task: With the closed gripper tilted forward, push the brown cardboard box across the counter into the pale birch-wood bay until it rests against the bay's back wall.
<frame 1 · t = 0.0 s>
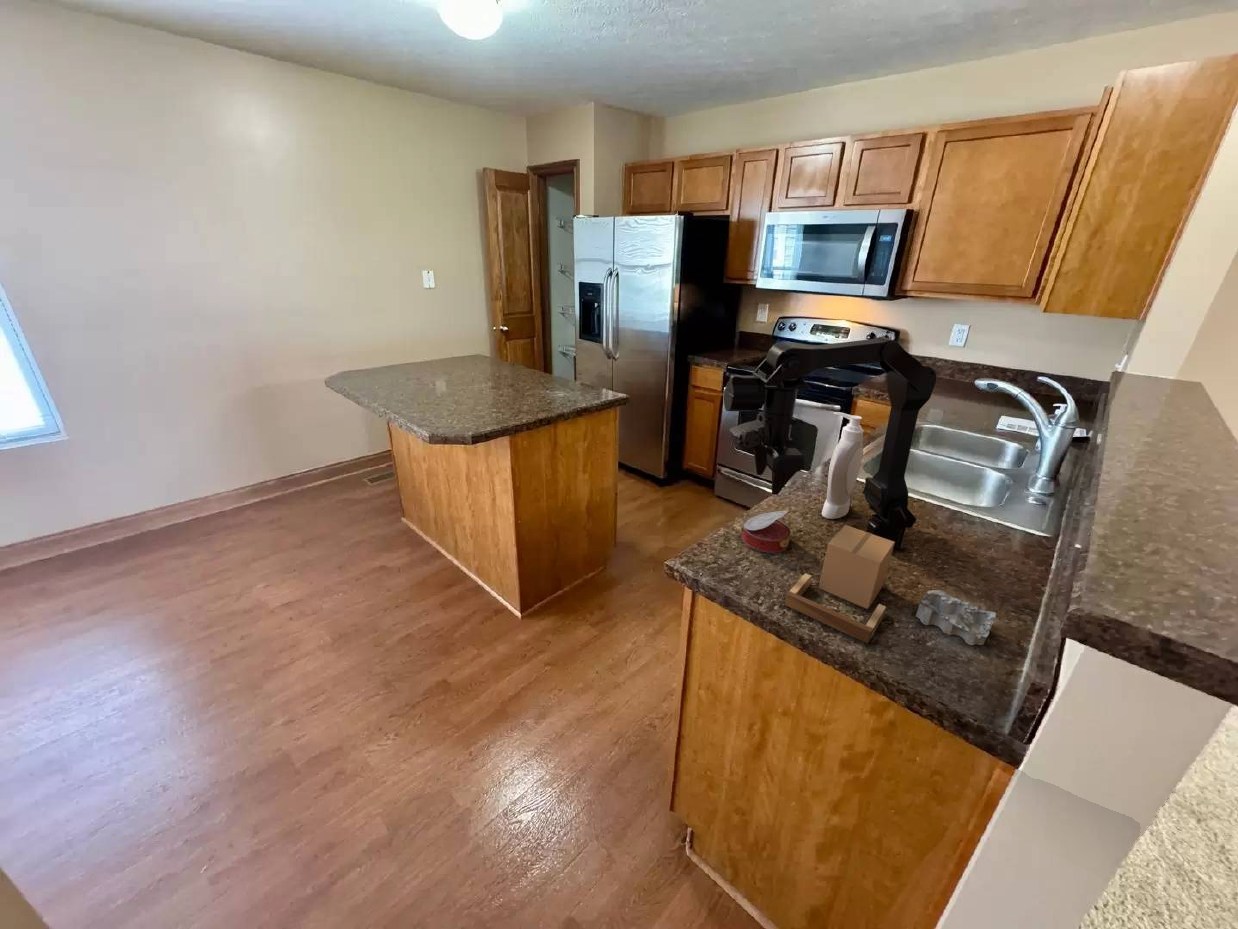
hand: (766, 484, 104), 15 cm above the counter, tool pointing down, fingers open, 9 cm apart
canned food: (764, 540, 112), on the counter
bay: (834, 609, 91), on the counter
egg carton: (950, 625, 89), on the counter
cardboard box: (850, 587, 97), on the counter
soap bottle: (830, 510, 126), on the counter
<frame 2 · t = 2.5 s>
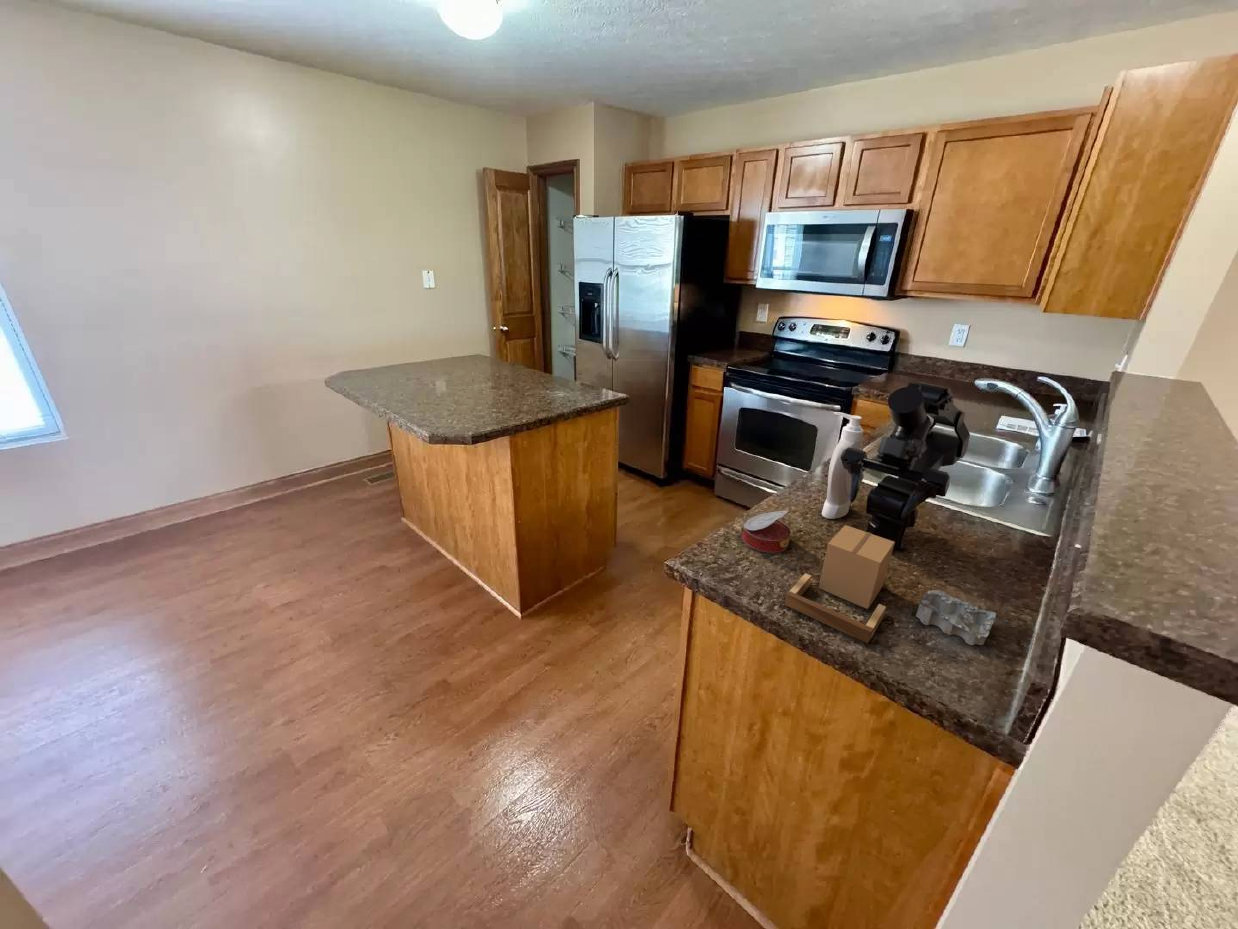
hand: (876, 509, 97), 14 cm above the counter, tool tilted 45°, fingers open, 9 cm apart
nothing on the counter moved.
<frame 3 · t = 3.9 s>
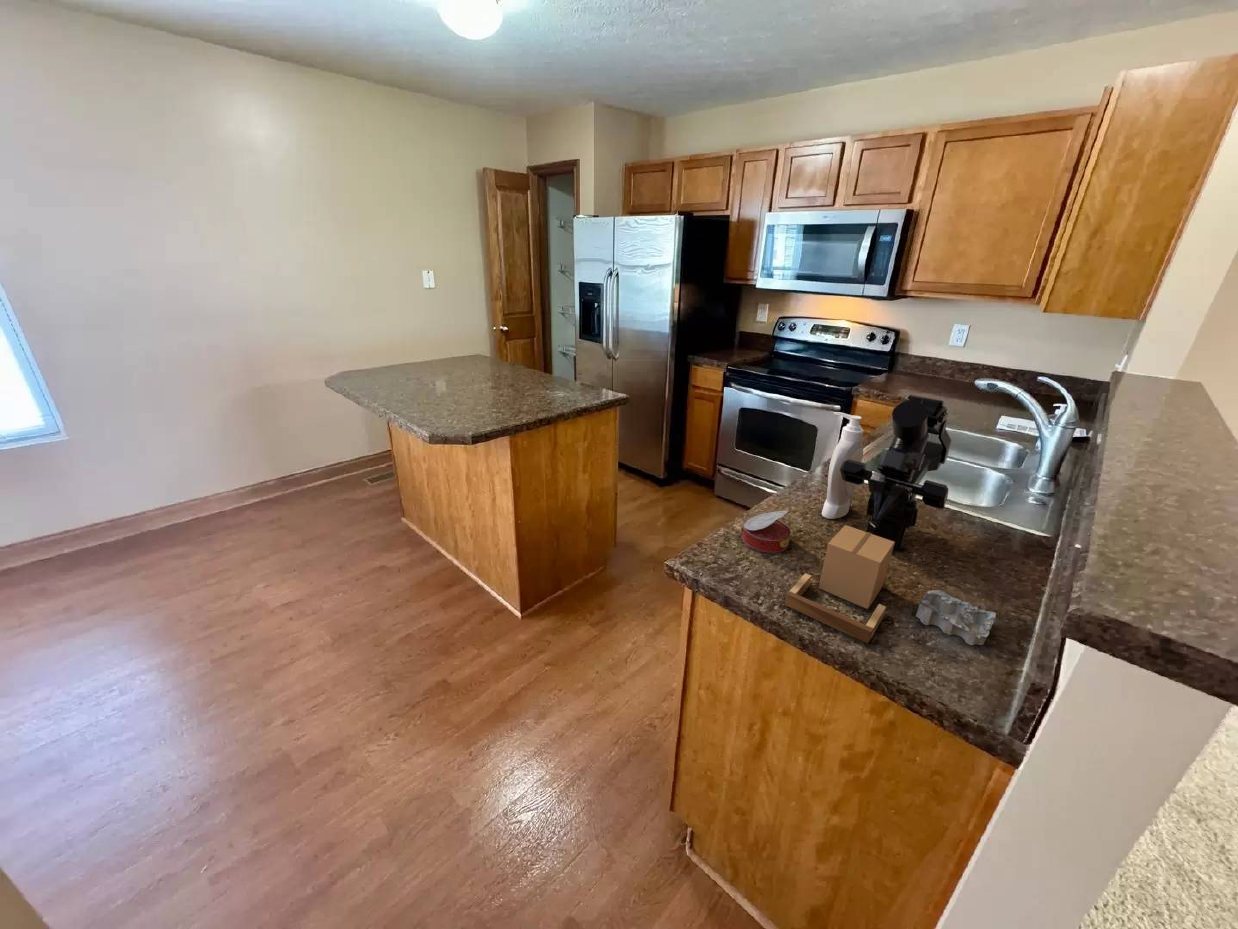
hand: (875, 521, 98), 11 cm above the counter, tool tilted 45°, fingers closed
nothing on the counter moved.
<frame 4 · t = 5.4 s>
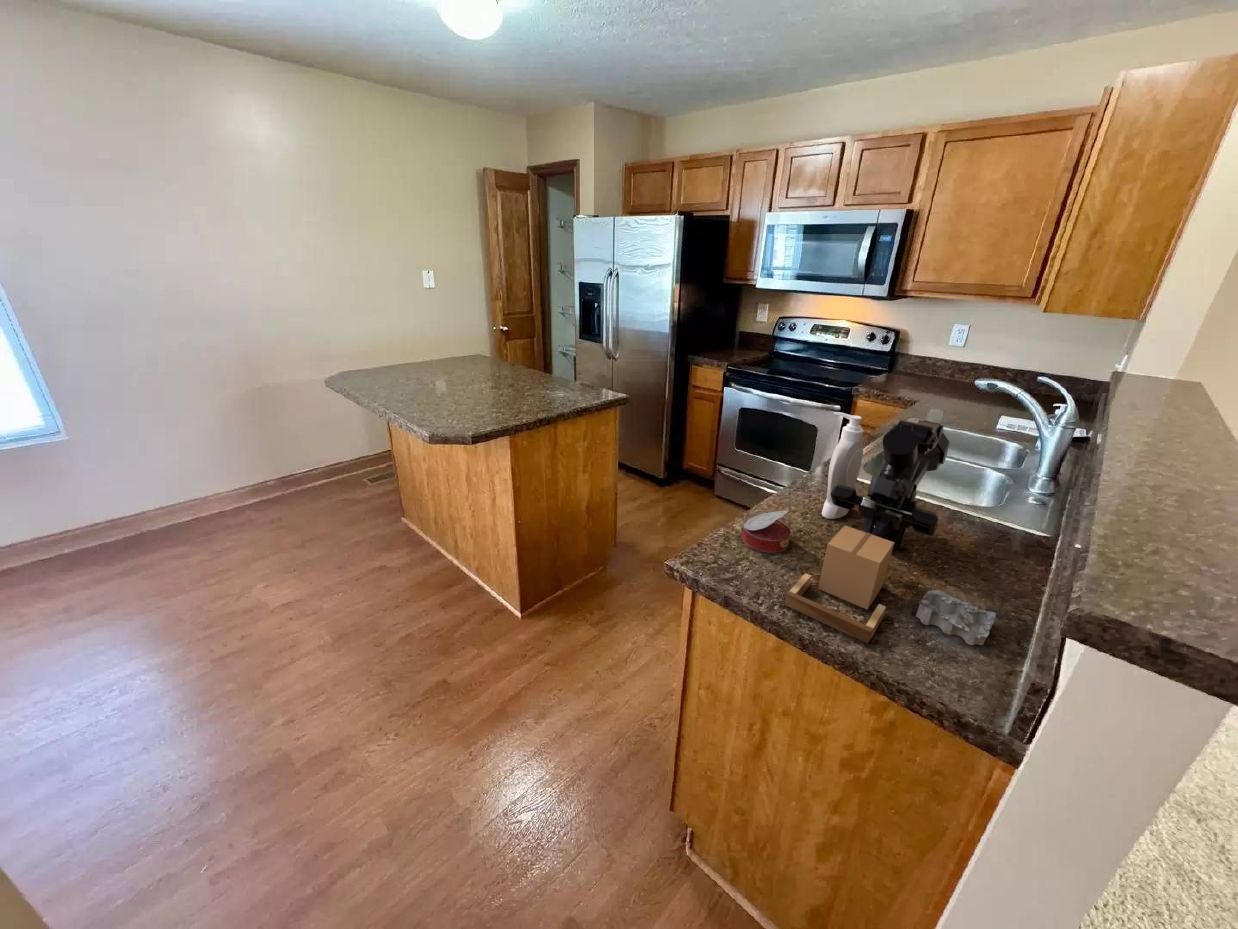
hand: (865, 547, 98), 7 cm above the counter, tool tilted 45°, fingers closed, pressing on cardboard box
cardboard box: (850, 587, 97), on the counter, touching gripper
everything else where it was.
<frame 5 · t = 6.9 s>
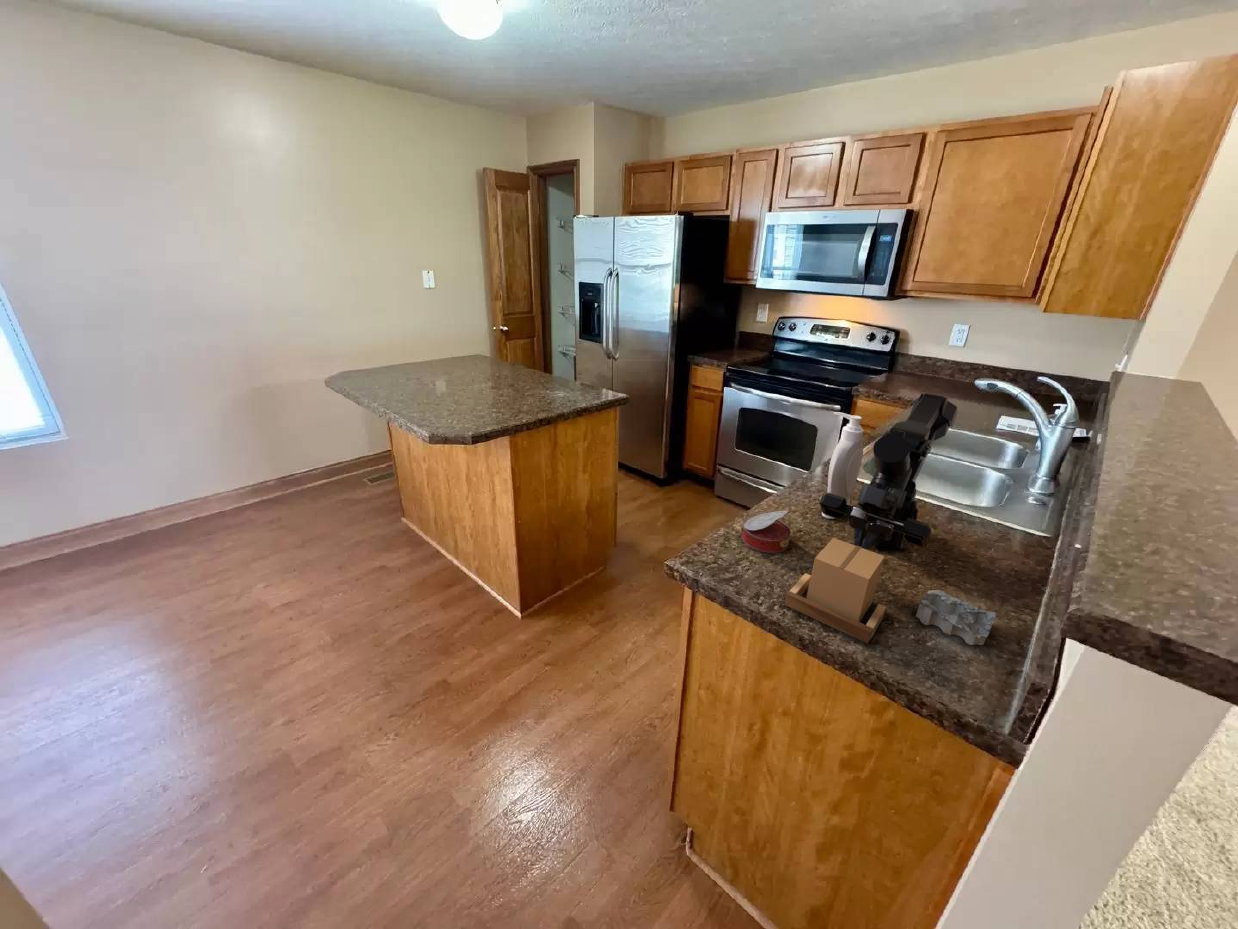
hand: (855, 559, 93), 7 cm above the counter, tool tilted 45°, fingers closed, pressing on cardboard box
cardboard box: (838, 603, 93), on the counter, touching gripper
everything else where it was.
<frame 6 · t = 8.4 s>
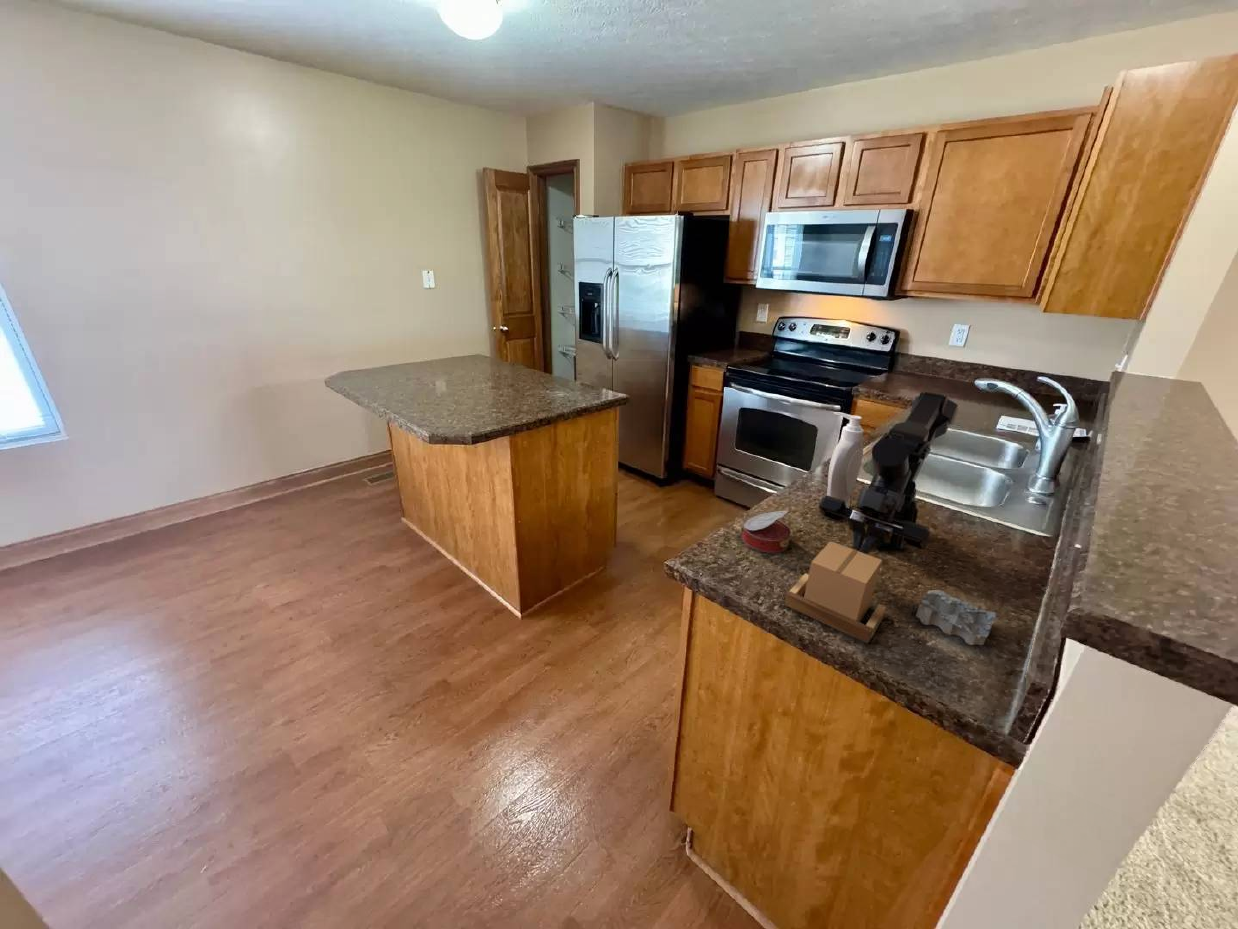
hand: (854, 562, 94), 6 cm above the counter, tool tilted 45°, fingers closed
cardboard box: (835, 607, 92), on the counter, touching bay
everything else where it was.
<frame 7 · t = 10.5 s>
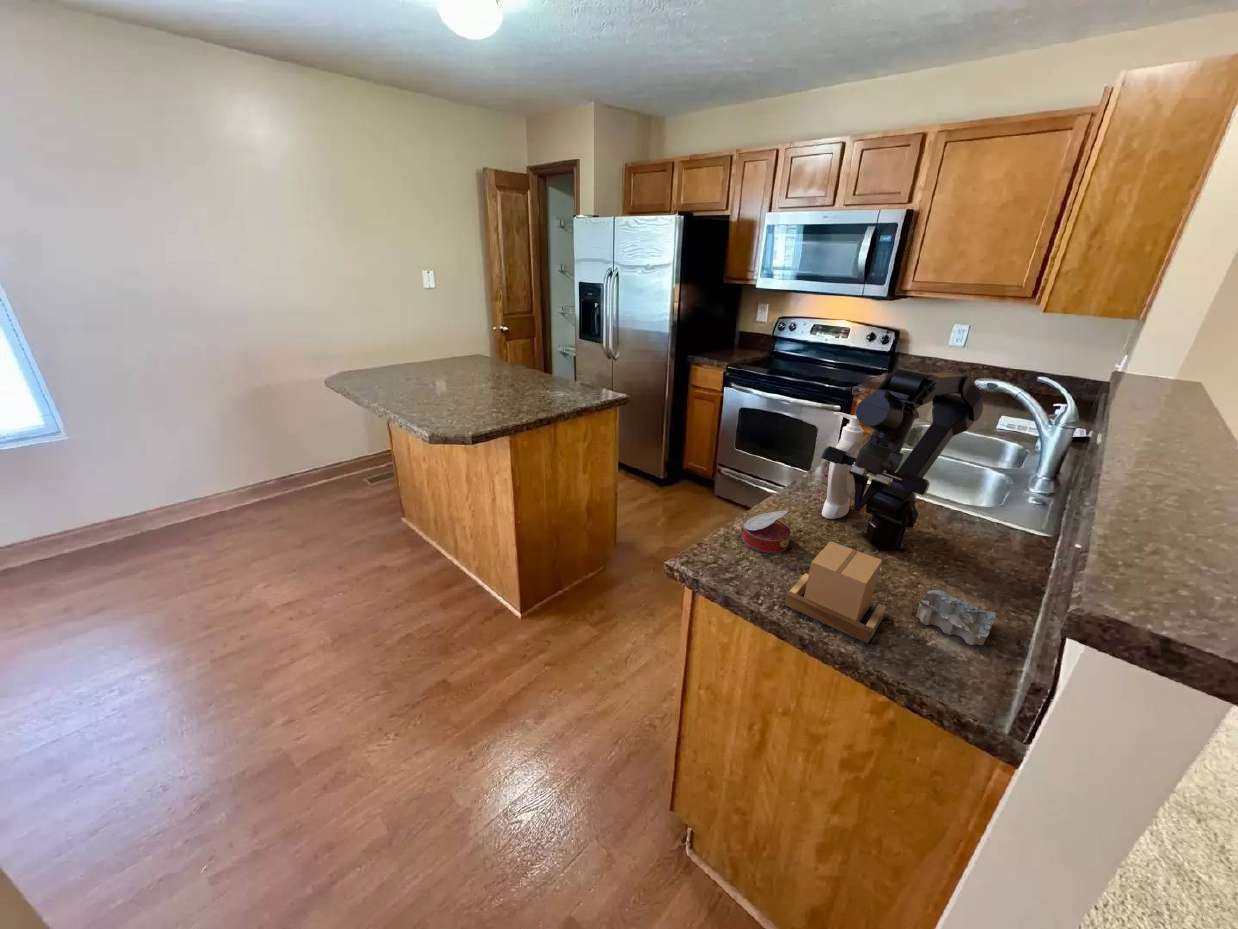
hand: (856, 511, 99), 12 cm above the counter, tool tilted 20°, fingers closed
nothing on the counter moved.
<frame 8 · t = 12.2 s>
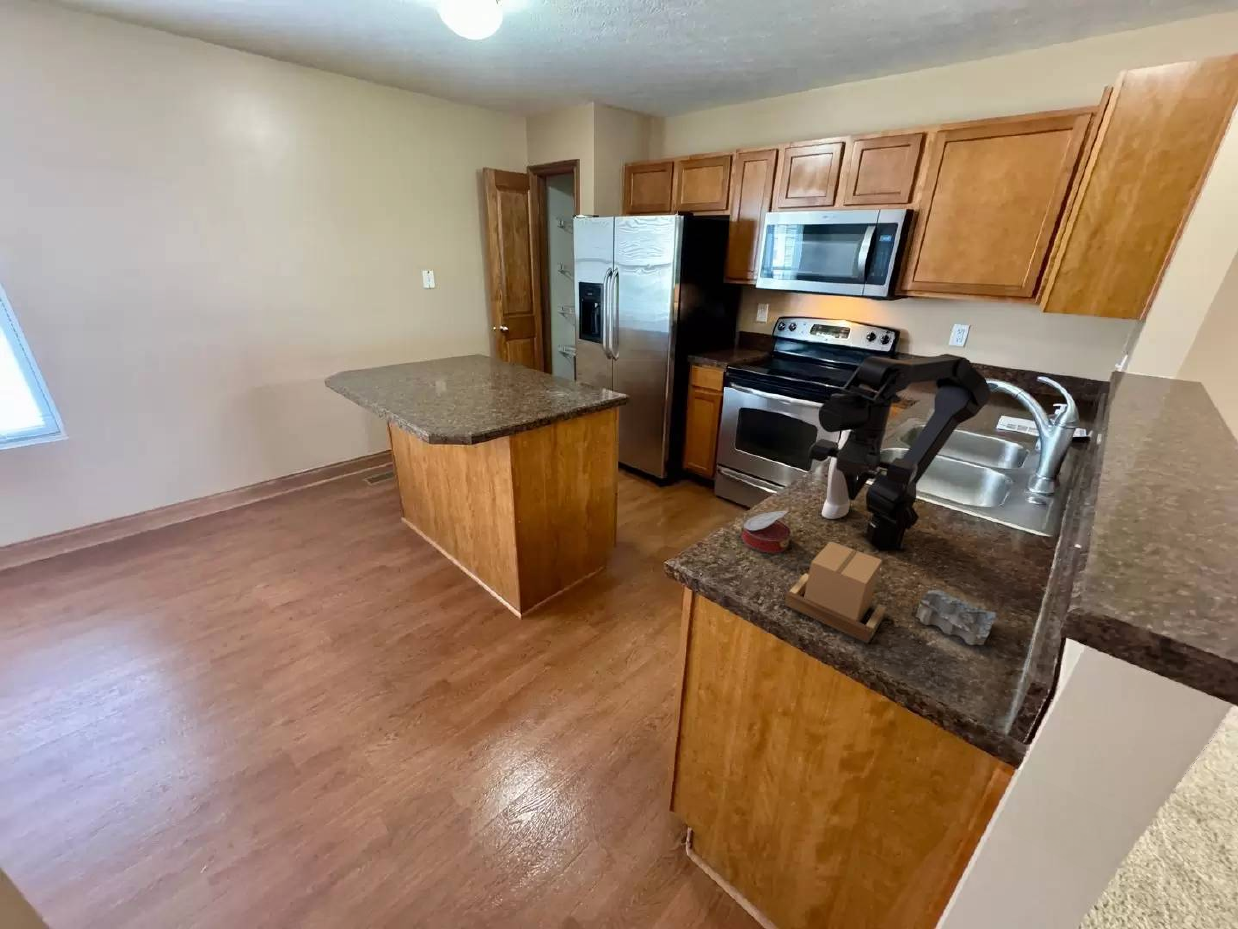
hand: (851, 499, 103), 13 cm above the counter, tool pointing down, fingers closed
nothing on the counter moved.
at the end: cardboard box 0.1 cm off-centre on the bay, point 0.0 cm above the bay's base; cardboard box tilted 0° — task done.
